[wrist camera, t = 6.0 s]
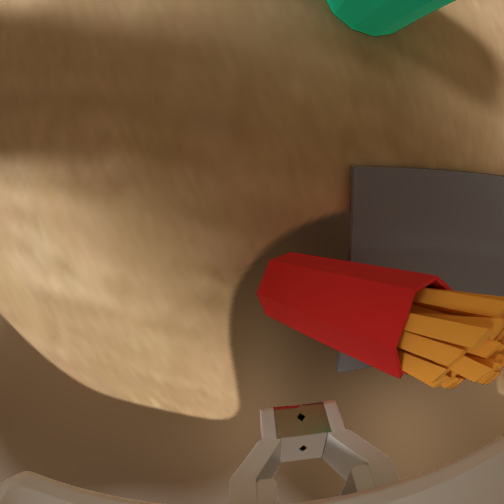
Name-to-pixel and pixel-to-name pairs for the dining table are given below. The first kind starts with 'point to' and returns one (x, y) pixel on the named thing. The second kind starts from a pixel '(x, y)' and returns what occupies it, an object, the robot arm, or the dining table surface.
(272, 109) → the dining table surface
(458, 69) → the dining table surface
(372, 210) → the mat
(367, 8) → the candle
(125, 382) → the dining table surface
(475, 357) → the french fries
